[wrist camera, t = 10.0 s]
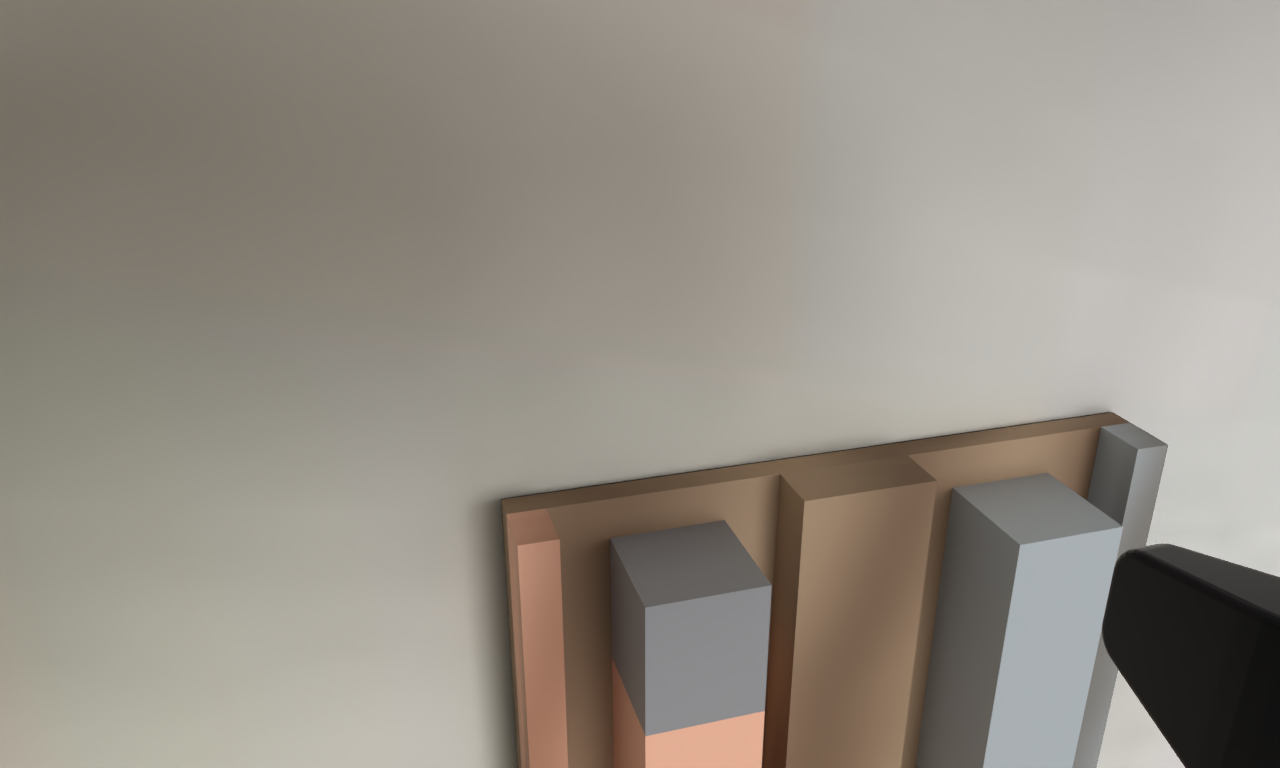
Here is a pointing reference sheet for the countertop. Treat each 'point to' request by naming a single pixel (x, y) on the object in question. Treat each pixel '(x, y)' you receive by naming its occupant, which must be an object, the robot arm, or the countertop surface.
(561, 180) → the countertop surface
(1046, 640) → the grey square bar
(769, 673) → the cord caddy
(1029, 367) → the countertop surface
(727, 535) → the two-tone eraser
